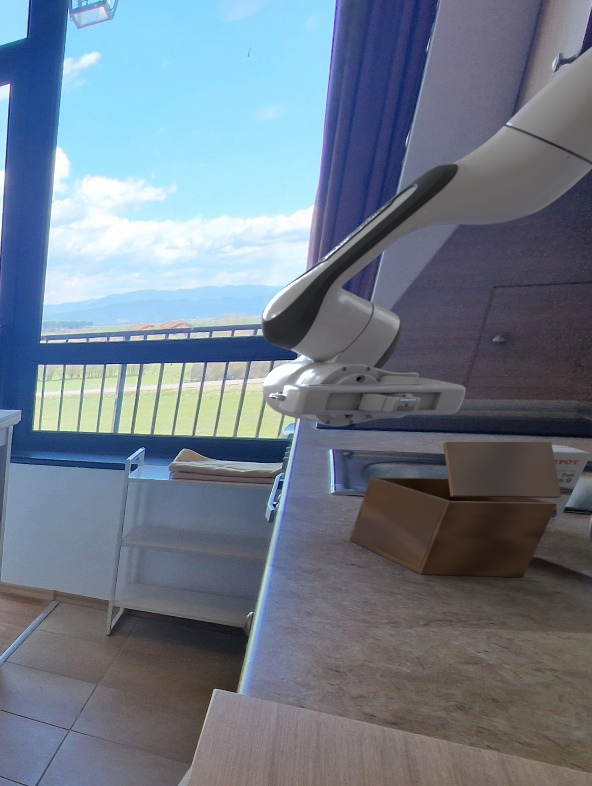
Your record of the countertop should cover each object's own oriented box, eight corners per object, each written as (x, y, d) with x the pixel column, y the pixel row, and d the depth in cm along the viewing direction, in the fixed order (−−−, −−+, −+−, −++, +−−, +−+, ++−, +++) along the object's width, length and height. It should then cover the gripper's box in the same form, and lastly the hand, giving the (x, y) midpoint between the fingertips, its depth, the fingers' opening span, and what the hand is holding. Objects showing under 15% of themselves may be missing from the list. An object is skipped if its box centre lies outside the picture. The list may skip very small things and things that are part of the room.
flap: (547, 443, 68) (551, 441, 68) (557, 498, 67) (561, 496, 66) (442, 443, 70) (445, 441, 69) (450, 496, 68) (453, 495, 68)
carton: (435, 542, 82) (460, 477, 79) (523, 577, 70) (557, 503, 67) (348, 540, 84) (370, 477, 80) (420, 574, 72) (449, 502, 69)
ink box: (463, 538, 83) (500, 448, 79) (444, 527, 87) (478, 442, 83) (550, 543, 80) (594, 451, 76) (526, 532, 84) (566, 444, 80)
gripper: (269, 373, 94) (324, 380, 82) (425, 371, 91) (507, 378, 78) (258, 416, 97) (309, 429, 84) (409, 416, 93) (486, 430, 81)
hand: (406, 405), depth 81 cm, fingers closed
